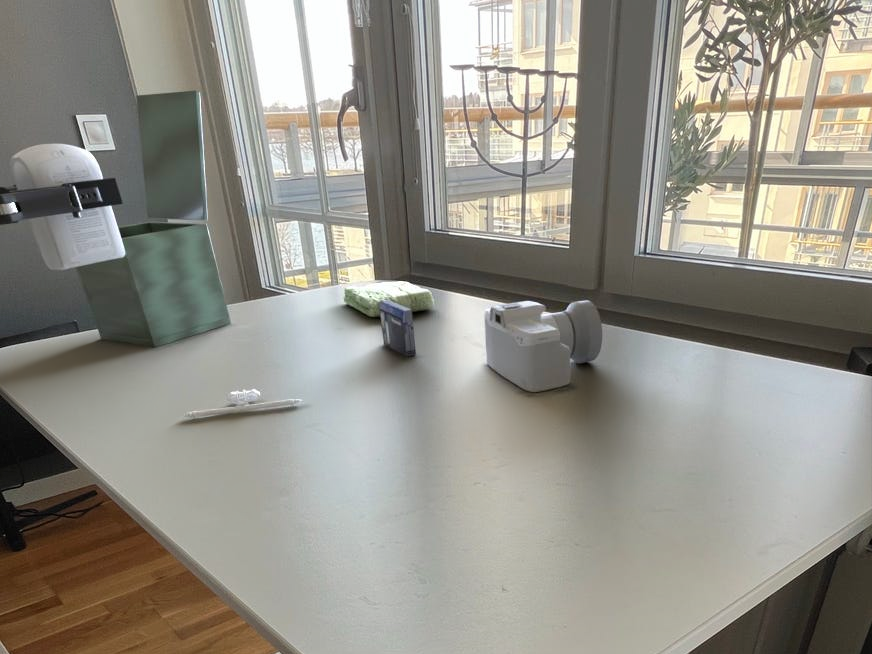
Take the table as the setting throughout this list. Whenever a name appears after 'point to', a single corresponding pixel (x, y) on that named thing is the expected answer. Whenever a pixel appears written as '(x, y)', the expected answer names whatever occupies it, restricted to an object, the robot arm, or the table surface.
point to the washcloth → (387, 297)
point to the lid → (173, 155)
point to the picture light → (242, 404)
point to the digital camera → (540, 342)
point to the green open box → (157, 285)
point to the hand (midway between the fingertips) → (103, 190)
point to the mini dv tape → (397, 327)
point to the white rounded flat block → (63, 233)
